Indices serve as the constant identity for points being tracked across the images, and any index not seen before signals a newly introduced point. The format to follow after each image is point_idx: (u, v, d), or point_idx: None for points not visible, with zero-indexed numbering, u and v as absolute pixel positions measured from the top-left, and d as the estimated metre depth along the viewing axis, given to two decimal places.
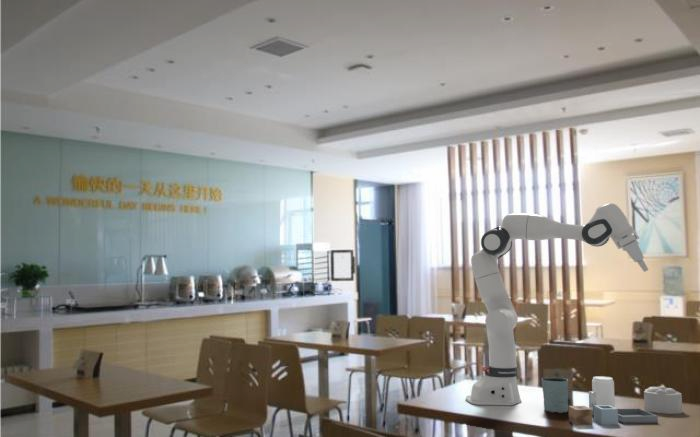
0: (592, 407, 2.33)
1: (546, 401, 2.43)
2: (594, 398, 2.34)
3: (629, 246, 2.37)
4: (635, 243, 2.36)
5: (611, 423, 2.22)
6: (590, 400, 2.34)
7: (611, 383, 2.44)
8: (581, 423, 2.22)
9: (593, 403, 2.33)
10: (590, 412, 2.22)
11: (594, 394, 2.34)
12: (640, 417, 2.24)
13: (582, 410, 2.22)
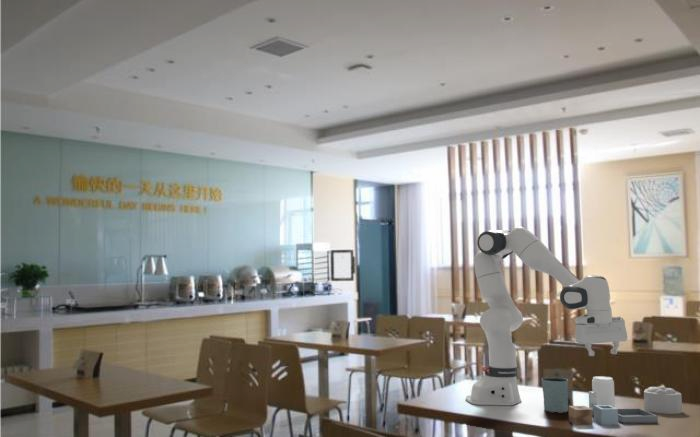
0: (592, 407, 2.33)
1: (546, 401, 2.43)
2: (594, 398, 2.34)
3: (577, 327, 2.35)
4: (581, 327, 2.33)
5: (611, 423, 2.22)
6: (590, 400, 2.34)
7: (611, 383, 2.44)
8: (581, 423, 2.22)
9: (593, 403, 2.33)
10: (590, 412, 2.22)
11: (594, 394, 2.34)
12: (640, 417, 2.24)
13: (582, 410, 2.22)
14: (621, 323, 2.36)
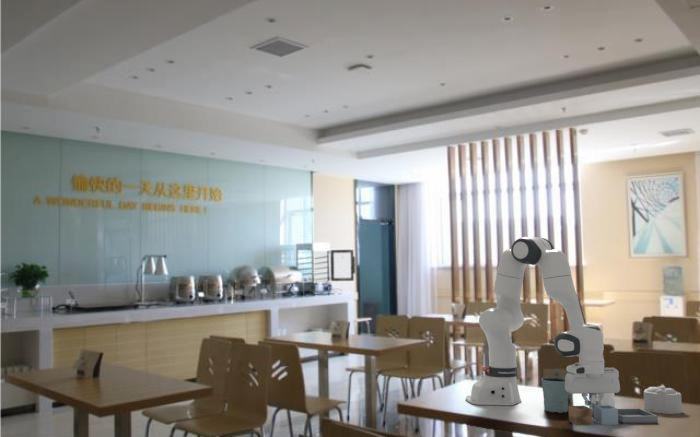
0: (592, 407, 2.33)
1: (546, 401, 2.43)
2: (594, 398, 2.34)
3: (567, 376, 2.35)
4: (570, 377, 2.33)
5: (611, 423, 2.22)
6: (590, 400, 2.34)
7: None
8: (581, 423, 2.22)
9: (593, 403, 2.33)
10: (590, 412, 2.22)
11: (594, 394, 2.34)
12: (640, 417, 2.24)
13: (582, 410, 2.22)
14: (614, 375, 2.34)
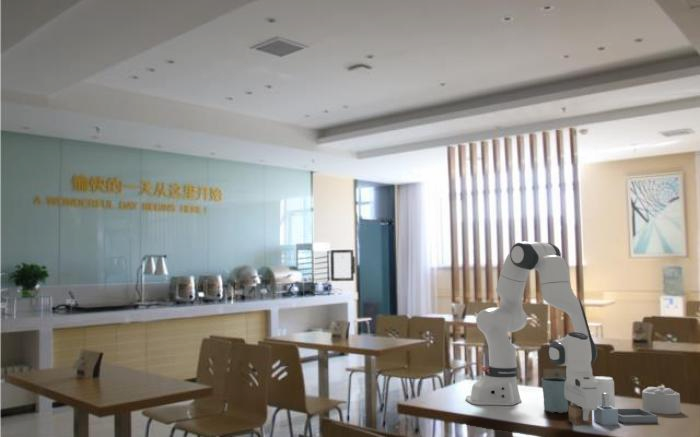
0: None
1: (546, 401, 2.43)
2: None
3: (589, 392, 2.16)
4: (596, 392, 2.17)
5: (611, 423, 2.22)
6: (608, 402, 2.25)
7: (611, 383, 2.44)
8: (581, 423, 2.22)
9: None
10: (590, 412, 2.22)
11: None
12: (640, 417, 2.24)
13: (582, 410, 2.22)
14: None
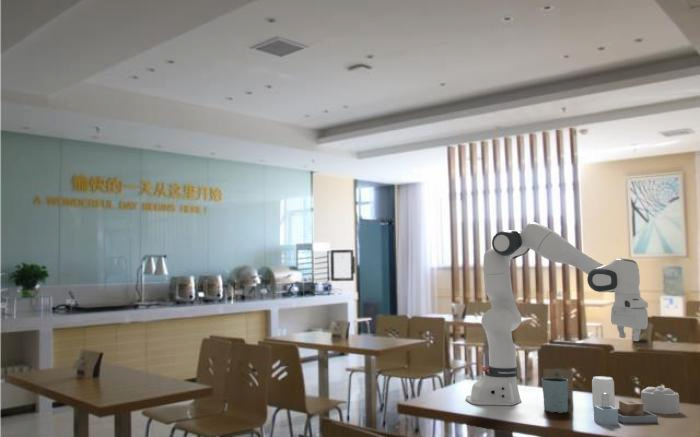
0: None
1: (546, 401, 2.43)
2: None
3: (640, 312, 2.23)
4: (646, 311, 2.24)
5: (611, 423, 2.22)
6: (608, 402, 2.25)
7: (611, 383, 2.44)
8: None
9: None
10: (641, 407, 2.27)
11: None
12: (640, 417, 2.24)
13: (634, 405, 2.27)
14: None
